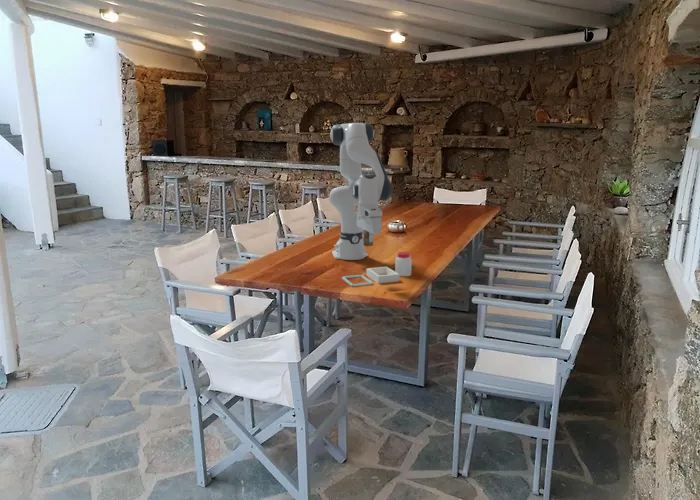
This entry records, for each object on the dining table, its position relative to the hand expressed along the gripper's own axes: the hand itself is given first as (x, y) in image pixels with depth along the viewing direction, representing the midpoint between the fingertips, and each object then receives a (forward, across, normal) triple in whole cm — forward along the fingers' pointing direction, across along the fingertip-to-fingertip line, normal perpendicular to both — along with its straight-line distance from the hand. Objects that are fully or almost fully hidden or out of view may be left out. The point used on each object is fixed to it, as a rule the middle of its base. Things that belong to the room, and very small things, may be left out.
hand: (368, 240), depth 241 cm
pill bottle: (+20, -4, +20) cm, 28 cm away
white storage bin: (+19, -1, +8) cm, 21 cm away
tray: (+19, 0, -5) cm, 20 cm away
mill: (+2, 0, 0) cm, 2 cm away
